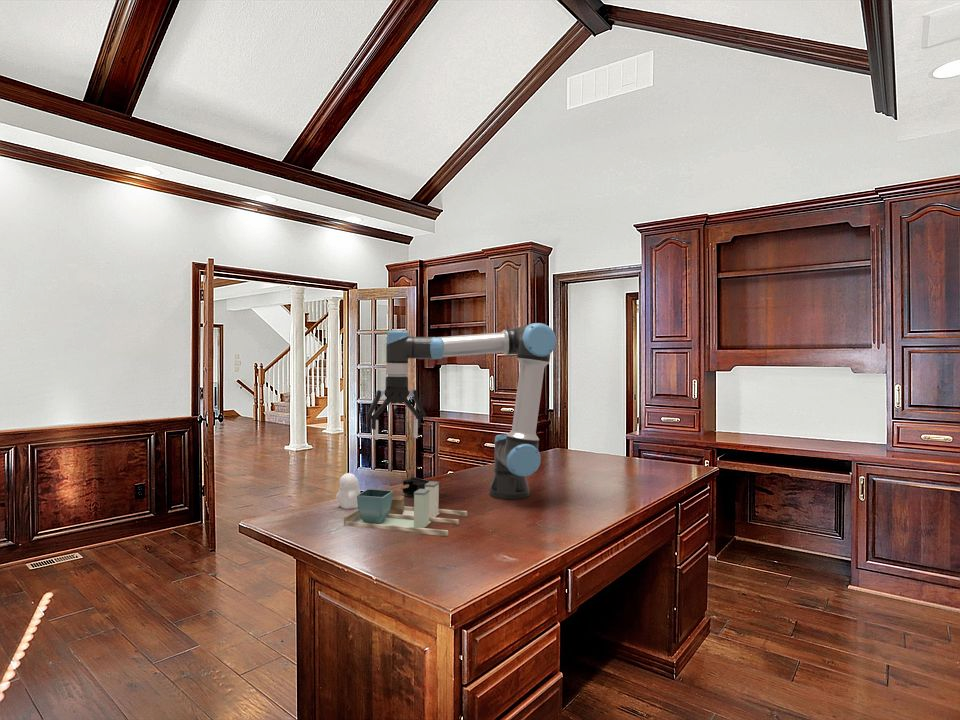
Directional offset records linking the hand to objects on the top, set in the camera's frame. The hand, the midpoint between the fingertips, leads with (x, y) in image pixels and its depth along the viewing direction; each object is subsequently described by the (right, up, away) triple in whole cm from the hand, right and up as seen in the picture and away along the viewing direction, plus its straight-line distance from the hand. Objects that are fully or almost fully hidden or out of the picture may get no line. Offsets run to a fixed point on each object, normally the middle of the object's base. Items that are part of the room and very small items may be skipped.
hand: (396, 438), depth 190 cm
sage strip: (+1, -24, -18) cm, 30 cm away
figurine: (-16, -24, +1) cm, 29 cm away
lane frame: (+6, -24, -14) cm, 28 cm away
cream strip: (+4, -24, -7) cm, 25 cm away
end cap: (+5, -24, +17) cm, 31 cm away
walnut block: (+1, -24, -6) cm, 24 cm away
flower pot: (-4, -24, -16) cm, 29 cm away
